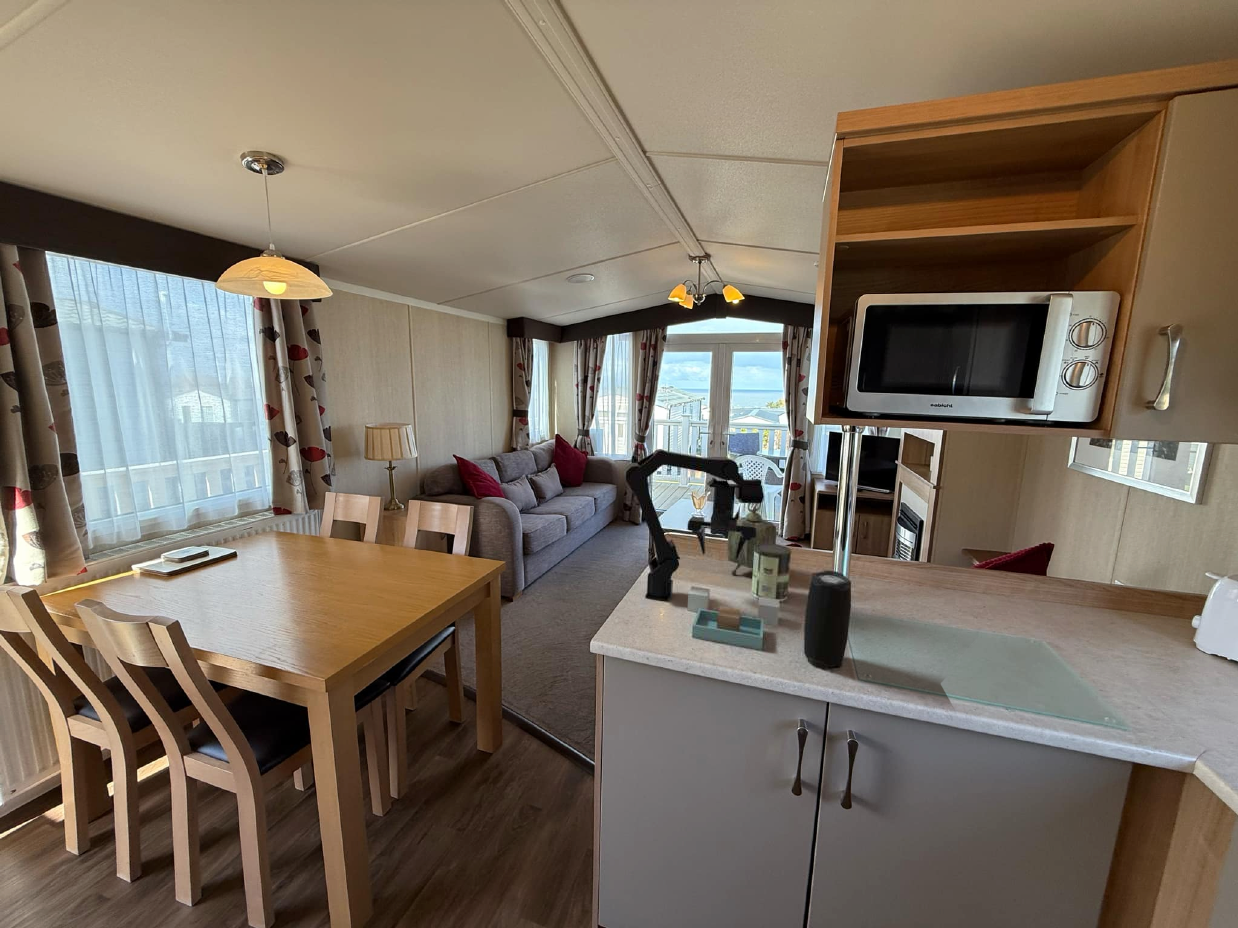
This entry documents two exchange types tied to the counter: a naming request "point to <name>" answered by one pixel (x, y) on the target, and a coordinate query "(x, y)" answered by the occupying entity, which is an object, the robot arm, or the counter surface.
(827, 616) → the portable speaker
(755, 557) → the coffee can
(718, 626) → the walnut block
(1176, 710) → the counter surface
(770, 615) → the grey block right
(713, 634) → the tray
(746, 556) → the tabletop clock
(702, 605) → the grey block left
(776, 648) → the counter surface
